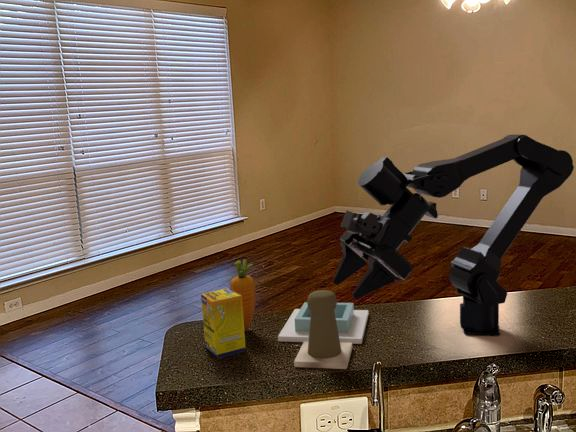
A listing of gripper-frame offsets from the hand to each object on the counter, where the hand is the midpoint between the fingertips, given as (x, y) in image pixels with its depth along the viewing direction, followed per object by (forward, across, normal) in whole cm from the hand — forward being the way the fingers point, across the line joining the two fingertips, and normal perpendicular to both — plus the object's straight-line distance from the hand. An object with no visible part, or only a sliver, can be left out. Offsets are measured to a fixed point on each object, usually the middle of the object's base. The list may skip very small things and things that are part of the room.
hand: (343, 290), depth 101 cm
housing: (+8, -14, +9) cm, 18 cm away
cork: (+11, 0, +5) cm, 12 cm away
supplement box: (+23, -10, -6) cm, 26 cm away
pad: (+11, 0, +5) cm, 12 cm away
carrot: (+19, -19, -2) cm, 27 cm away
